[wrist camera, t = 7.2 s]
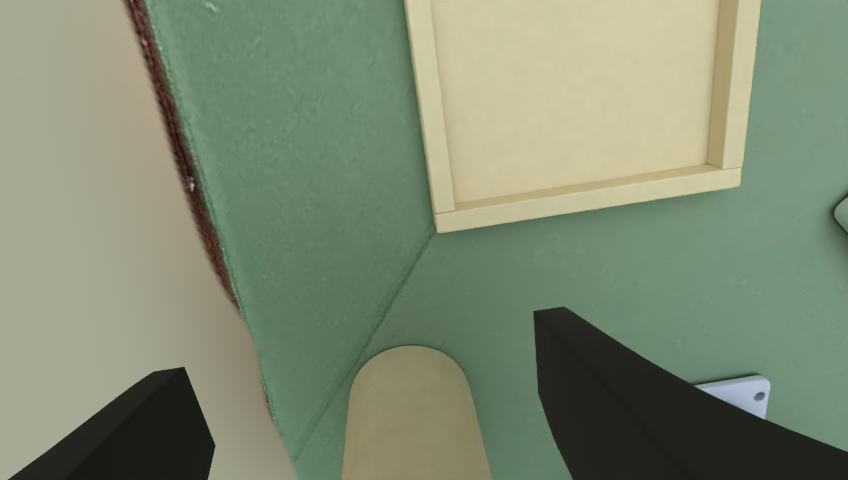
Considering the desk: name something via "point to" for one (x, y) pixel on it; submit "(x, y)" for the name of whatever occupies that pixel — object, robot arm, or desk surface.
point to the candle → (413, 420)
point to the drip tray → (578, 102)
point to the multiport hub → (842, 214)
